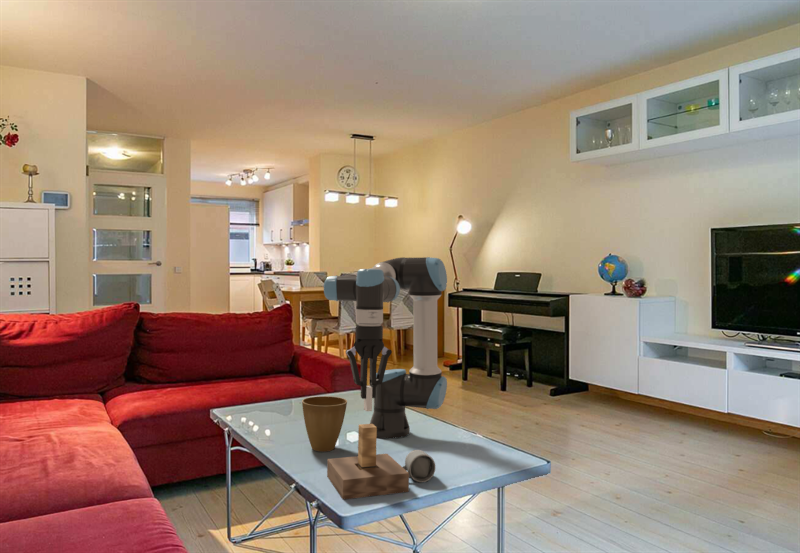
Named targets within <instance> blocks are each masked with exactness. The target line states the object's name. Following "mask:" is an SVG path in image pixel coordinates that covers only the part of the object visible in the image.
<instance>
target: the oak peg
mask: <svg viewBox="0 0 800 553" xmlns="http://www.w3.org/2000/svg"><path fill="white" fill-rule="evenodd" d="M357 432H358V436H357V438H358V439H357V442H358V444H357V456H358V468H359V470H365V469H375V468H376V455H377V438H378V437H377V427H376V426H375V425H373V424H370V423H365V424H362V423H361V424H358V431H357Z"/></svg>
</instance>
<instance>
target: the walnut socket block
mask: <svg viewBox="0 0 800 553" xmlns="http://www.w3.org/2000/svg"><path fill="white" fill-rule="evenodd" d="M326 464H327V465H326V466H327V467H326V468H327V470H326V473H327V474H326V476H327V478H328V480H329V482H330V483H331V485H333V487H334V489H335V491H336V492H337V494H338V495H339V496H340V498H341V499H342V500H352V499H358V498H359V499H360V498H367V497H377V496H385V495H393V494H401V493H402V494H403V493H409V490H410V488H409V486H410V483H409V481H410V480H409V479H410V477H409V473H408V471H406V470H405V469H404V468H403V466H401V465H400V463H399V462H397V461H396V460H395V459H394V458H393V457H392V456H390V454H389V453H379V454H377V453H376V468H375V469H365V470H359V468H358V455H357V456H344V457H335V458H327V463H326Z"/></svg>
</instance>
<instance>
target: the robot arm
mask: <svg viewBox="0 0 800 553" xmlns="http://www.w3.org/2000/svg"><path fill="white" fill-rule="evenodd" d="M447 275H448V274H447V269H446V266H445V264H444V262H443V260H442V259H440V258H437V257H430V256H429V257H428V256H427V257H424V256H423V257H403V256H402V257H396V258H392V259H388V260H385V261H381V262H378V263H376V264H374V265H373V267H370V268H360V269H358V270H357V271H356V272H353V273H349V274H346V275H330V276H328V277H326V279H325V280H324V283H323V294H324V297H325V298H326V299H327V300H329V301H334V302H355V303H356V304H355V305H356V306H355V308H356V309H355V324H357V325H355V339H354V340H355V341H354V343H353V346H352V347H351V348H350V349H346V350H345V354H346V356H347V357H348V359H349V365H350V370H351V374H352V377H353V382H354V384H356V386H359V387H360V398H361V399H363V410H364V411H365V412H372V411H373V412H372V415H371V419H370V422H369V424H373V425H375V426H376V427H377V438H380V439H398V438H399V439H400V438H405V437H407V436H409V435H410V433H411V432H410V431H411V430H410V425H409V424H410V423H409V421H408V420H409V419H408V417H407V414H406V407H408V408H418V409H419V408H420V409H426V410H430V409H431V410H437V409H440V408H441V407H442V406H443V403H444V401H445V398H446V395H447V387H448V382H447V377H446V376H443V374H442V369H441V368H440V367H439V366H438V300H439V299H440V298H441V296H442V295H443V294H442V292H443V291H445V290H446V289H447V286H448V284H447V283H448V276H447ZM401 290H404V291H405V290H406V291H408V296H409V297H410V298H411V299H412V300H413V302H412V303H413V304H412V305H413V307H412V308H413V309H412V310H413V313H412V314H413V315H412V316H413V320H412V321H413V325H412V328H413V329H412V330H413V332H412V333H413V342H412V343H413V345H412V346H413V366H412V367H411V368H410V369H409V373H407V370H406V369H405V368H404V369H403V368H393V369H387V370H386V368H387V364H388V362H389V358H390V356H391V355H392V352H393V351H392V350H391V349H389V348H387V347H386V346H385V343H384V341H383V339H384V338H383V337H384V336H383V335H384V327H383V323H384V303H390V302H393V301H395V300H396V299H397V298H398V297H399V295H400V291H401ZM357 354H358V356H359V357H360V358H359V359H360V373H359V368H358V363H357V359H356V357H355V356H356V355H357ZM380 354H381V357H380V360H379V361H380V362H379V365H378V369H377V362H378V357H379V355H380ZM368 363H369V385H368Z"/></svg>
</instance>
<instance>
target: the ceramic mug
mask: <svg viewBox="0 0 800 553" xmlns="http://www.w3.org/2000/svg"><path fill="white" fill-rule="evenodd" d="M402 467H403V468H404V469H405V470H406V471H407V472H408V473H409V478H411V479H412V480H414V482H418V483H426V482H428V481H430V480H431V479H432V478H433V477H434V475H435V472H436V462H435V459H433V457H432V456H430V455H429V454H427V453H426V452H425V451H424V450H421V449H415V450H411V451H410V452H408V453H407V455H406V457H405V460H404V465H403V466H402Z"/></svg>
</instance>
